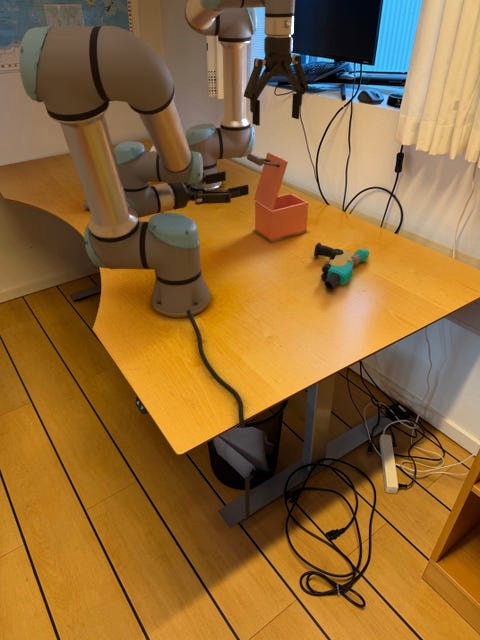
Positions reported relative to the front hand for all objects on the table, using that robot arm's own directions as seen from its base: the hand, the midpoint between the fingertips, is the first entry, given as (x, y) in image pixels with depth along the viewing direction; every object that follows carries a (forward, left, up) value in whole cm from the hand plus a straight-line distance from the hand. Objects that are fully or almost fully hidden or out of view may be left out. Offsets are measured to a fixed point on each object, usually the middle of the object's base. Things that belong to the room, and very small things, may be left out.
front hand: (236, 182), depth 141 cm
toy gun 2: (-16, -29, -20) cm, 39 cm away
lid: (+7, -10, -2) cm, 13 cm away
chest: (+9, -14, -20) cm, 26 cm away
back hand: (+8, -11, +15) cm, 21 cm away
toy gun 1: (+29, +50, -20) cm, 61 cm away
